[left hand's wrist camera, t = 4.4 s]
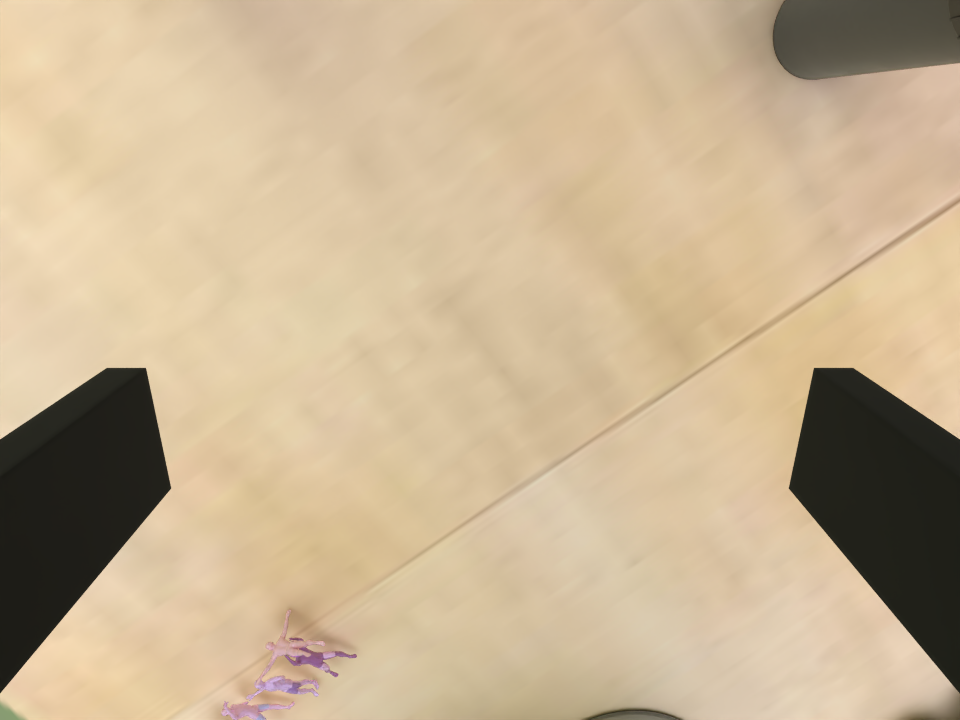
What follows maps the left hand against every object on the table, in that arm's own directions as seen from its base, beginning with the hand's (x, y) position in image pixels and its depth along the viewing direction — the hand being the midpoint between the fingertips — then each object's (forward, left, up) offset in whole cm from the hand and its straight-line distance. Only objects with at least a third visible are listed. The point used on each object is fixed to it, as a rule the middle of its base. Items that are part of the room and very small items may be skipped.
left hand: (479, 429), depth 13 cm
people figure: (-37, +17, -28) cm, 49 cm away
